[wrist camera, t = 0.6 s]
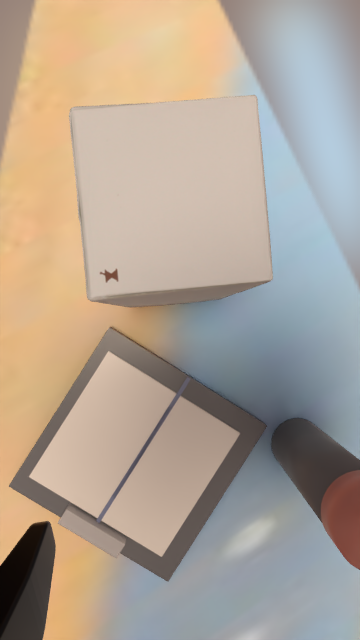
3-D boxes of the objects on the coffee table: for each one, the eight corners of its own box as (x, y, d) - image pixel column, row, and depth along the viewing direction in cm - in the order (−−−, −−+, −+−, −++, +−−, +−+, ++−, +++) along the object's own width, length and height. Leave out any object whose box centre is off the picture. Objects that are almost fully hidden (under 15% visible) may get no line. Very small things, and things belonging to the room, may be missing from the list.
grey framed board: (168, 575, 25) (167, 590, 24) (12, 482, 25) (3, 492, 23) (264, 423, 25) (270, 430, 24) (110, 326, 25) (107, 327, 23)
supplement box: (223, 300, 25) (277, 288, 12) (126, 308, 25) (79, 304, 12) (215, 204, 25) (263, 89, 12) (118, 210, 24) (61, 102, 12)
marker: (304, 480, 25) (392, 589, 15) (259, 452, 25) (318, 544, 15) (333, 434, 25) (440, 515, 15) (288, 406, 25) (366, 468, 15)
